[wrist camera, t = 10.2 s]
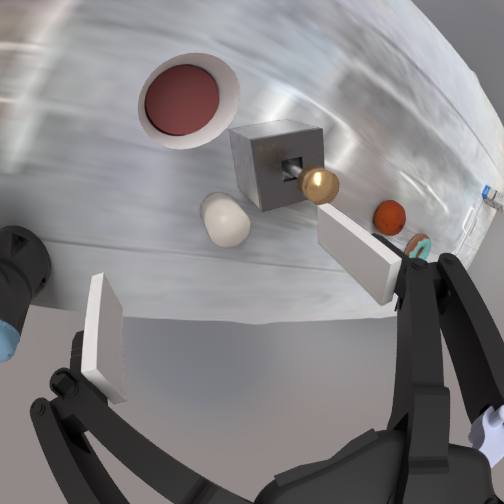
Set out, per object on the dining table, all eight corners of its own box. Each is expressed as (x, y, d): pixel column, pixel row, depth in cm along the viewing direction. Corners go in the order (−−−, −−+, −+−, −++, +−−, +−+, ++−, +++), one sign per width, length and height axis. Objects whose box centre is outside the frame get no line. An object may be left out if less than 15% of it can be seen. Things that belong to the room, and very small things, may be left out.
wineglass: (210, 97, 42) (258, 101, 24) (167, 136, 43) (183, 169, 25) (175, 61, 36) (199, 34, 19) (131, 102, 38) (117, 106, 20)
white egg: (204, 231, 54) (214, 252, 48) (196, 198, 50) (204, 216, 44) (238, 220, 56) (252, 240, 49) (232, 187, 52) (247, 203, 45)
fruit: (386, 227, 72) (405, 242, 66) (364, 226, 69) (384, 241, 62) (397, 198, 68) (418, 210, 62) (375, 193, 65) (397, 207, 58)
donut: (396, 253, 80) (405, 260, 77) (419, 225, 78) (428, 231, 75) (407, 268, 87) (415, 275, 84) (428, 242, 85) (436, 248, 82)
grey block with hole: (238, 186, 52) (262, 212, 42) (228, 129, 46) (252, 140, 36) (291, 173, 54) (325, 194, 45) (286, 118, 48) (322, 128, 38)
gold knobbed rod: (250, 177, 50) (300, 222, 35) (244, 139, 46) (297, 166, 31) (286, 169, 51) (347, 208, 36) (282, 131, 47) (348, 156, 32)
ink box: (481, 193, 85) (503, 206, 76) (486, 184, 84) (507, 196, 75) (484, 203, 90) (504, 215, 81) (489, 194, 89) (509, 206, 79)
